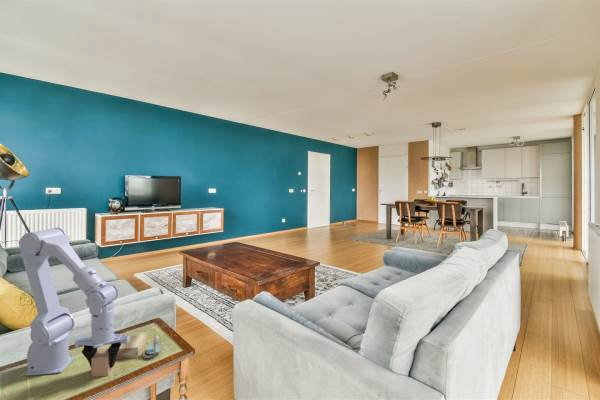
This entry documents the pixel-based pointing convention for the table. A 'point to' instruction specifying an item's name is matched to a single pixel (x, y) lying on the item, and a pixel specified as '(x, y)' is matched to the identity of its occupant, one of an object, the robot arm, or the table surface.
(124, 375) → the table surface
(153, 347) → the pacifier
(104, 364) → the terracotta block
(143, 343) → the birch block
